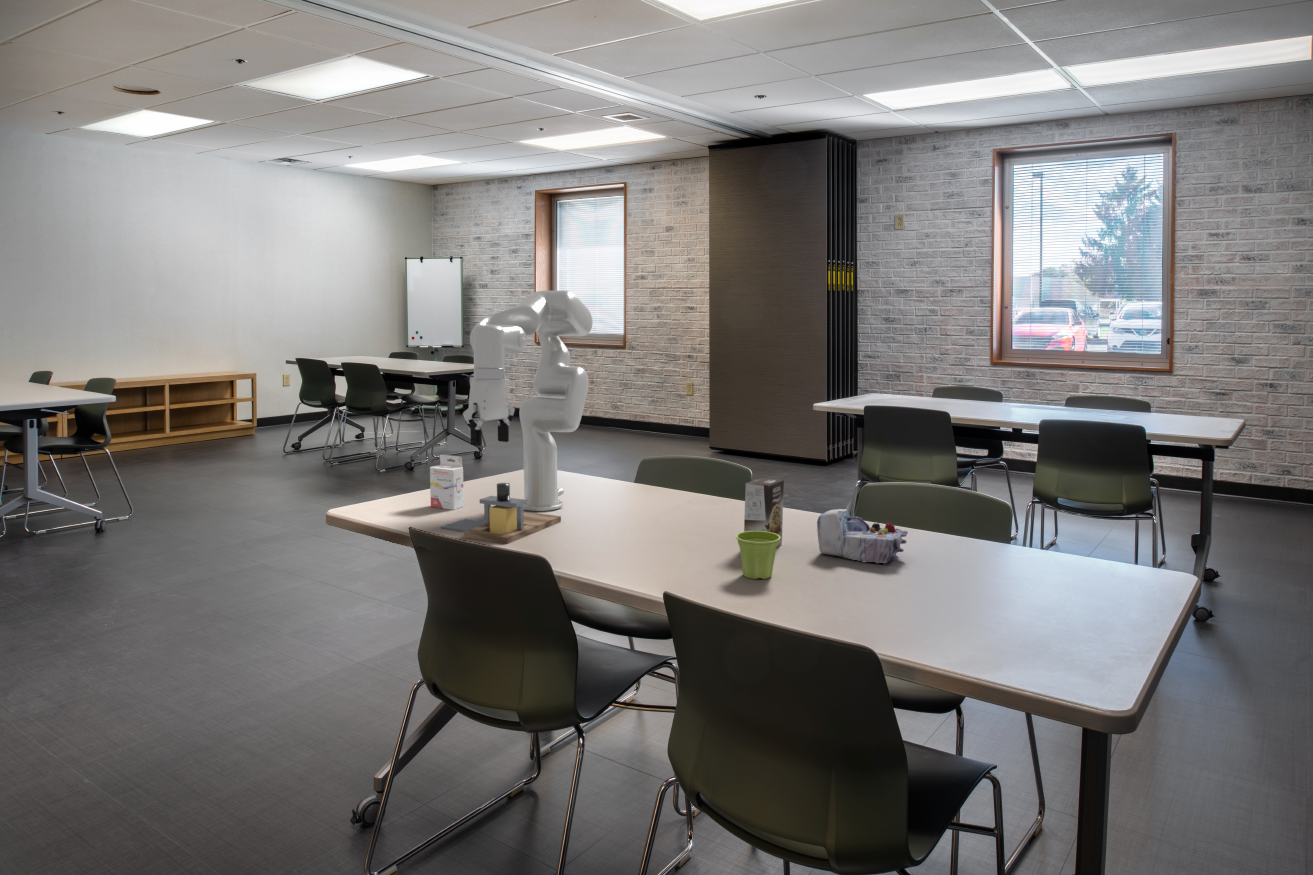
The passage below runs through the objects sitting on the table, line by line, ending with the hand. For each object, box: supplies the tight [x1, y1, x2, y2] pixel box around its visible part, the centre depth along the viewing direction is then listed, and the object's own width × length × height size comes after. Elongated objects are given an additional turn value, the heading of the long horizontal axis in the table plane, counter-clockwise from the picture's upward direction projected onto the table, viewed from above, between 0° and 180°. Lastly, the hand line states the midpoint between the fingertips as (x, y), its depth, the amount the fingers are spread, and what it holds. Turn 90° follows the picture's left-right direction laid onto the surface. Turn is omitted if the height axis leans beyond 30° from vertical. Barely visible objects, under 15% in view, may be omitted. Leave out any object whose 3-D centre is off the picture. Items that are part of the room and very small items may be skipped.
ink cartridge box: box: [429, 454, 465, 511], centre depth 245 cm, size 9×5×15 cm, turn 65°
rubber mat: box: [440, 518, 485, 532], centre depth 224 cm, size 10×10×1 cm
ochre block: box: [490, 505, 517, 534], centre depth 217 cm, size 5×5×7 cm
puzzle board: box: [462, 511, 562, 544], centre depth 221 cm, size 25×13×2 cm, turn 155°
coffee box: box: [743, 477, 785, 548], centre depth 205 cm, size 9×6×16 cm
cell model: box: [816, 508, 909, 565], centre depth 198 cm, size 13×11×20 cm
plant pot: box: [735, 531, 781, 580], centre depth 183 cm, size 9×9×9 cm
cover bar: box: [479, 482, 527, 530], centre depth 216 cm, size 5×11×11 cm, turn 65°
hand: (490, 443), depth 215 cm, fingers open, 9 cm apart
